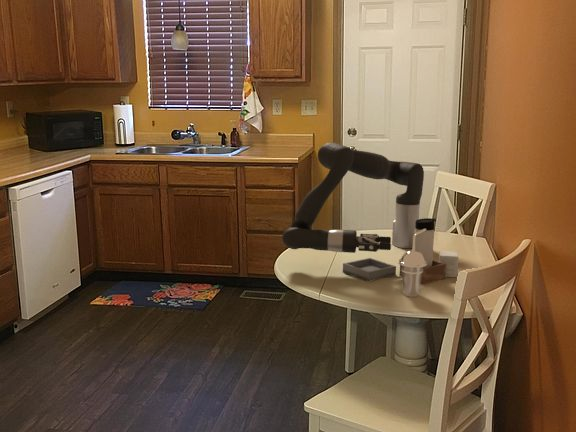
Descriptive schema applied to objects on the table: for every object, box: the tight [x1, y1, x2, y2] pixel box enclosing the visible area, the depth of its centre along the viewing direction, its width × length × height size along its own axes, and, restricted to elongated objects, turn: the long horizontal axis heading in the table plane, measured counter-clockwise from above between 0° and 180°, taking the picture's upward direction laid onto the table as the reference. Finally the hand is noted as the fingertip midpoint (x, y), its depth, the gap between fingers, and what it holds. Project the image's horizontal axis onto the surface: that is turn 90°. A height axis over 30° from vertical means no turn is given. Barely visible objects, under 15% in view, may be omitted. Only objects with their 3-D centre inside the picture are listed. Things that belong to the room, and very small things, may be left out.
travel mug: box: [415, 217, 437, 268], centre depth 207 cm, size 6×7×20 cm
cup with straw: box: [397, 229, 427, 298], centre depth 190 cm, size 8×9×20 cm
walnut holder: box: [399, 259, 446, 285], centre depth 209 cm, size 11×11×5 cm
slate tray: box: [342, 257, 397, 282], centre depth 212 cm, size 13×13×3 cm
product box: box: [438, 250, 459, 278], centre depth 212 cm, size 6×6×7 cm
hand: (390, 243), depth 209 cm, fingers open, 8 cm apart
